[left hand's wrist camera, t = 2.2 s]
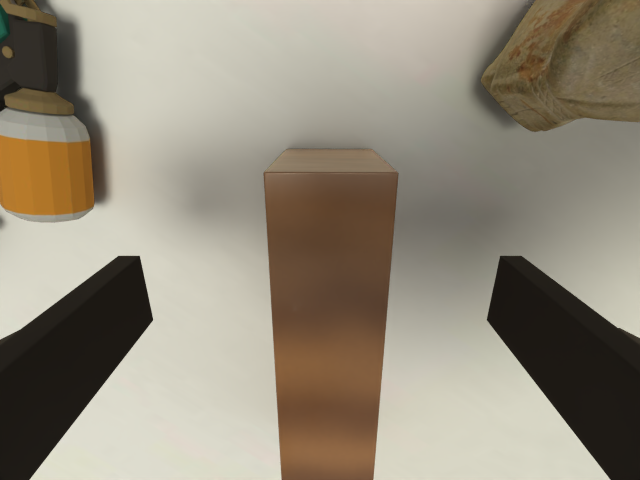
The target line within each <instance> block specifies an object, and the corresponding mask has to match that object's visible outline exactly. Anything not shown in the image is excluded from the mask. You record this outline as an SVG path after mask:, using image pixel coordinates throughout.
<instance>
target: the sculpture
mask: <svg viewBox="0 0 640 480" xmlns="http://www.w3.org/2000/svg"><path fill="white" fill-rule="evenodd" d="M481 82H482V84H483V86H484V87H485V88H486V90H487V91H488V92H489V93H490V94H491V95H492V96H493V98H494V99H495V100H496V101H497V102H498V103H499V104H500V106H501V107H502V108H503V109H504V110H505V111H506V112H507V113H508V114H509V115H510V116H511V117H512V118H513V119H514V120H516V121H517V122H518V123H519V124H521V125H522V126H523V127H525V128H526V129H528V130H530V131H534V132H536V131H541V130H542V131H547V130H550V129H553V128H556V127H560V126H562V125H565V124H567V123H569V122H571V121H573V120H575V119H580V118H585V117H586V118H593V119H602V120H614V121H628V122H640V0H536V1H535V2H534V3H533V5H532V6H531V8H530V9H529V10H528V12H527V13H526V15H525V16H524V18H523V19H522V21H521V22H520V24H519V25H518V27H517V28H516V30H515V32H514V33H513V35H512V37H511V38H510V40H509V41H508V43H507V44H506V46H505V47H504V49H503V50H502V52H501V53H500V54H499V55H498V57H497V58H496V59H495V60H494V62H493V63H492V64H490V65H489V66H488V67H487V69H486V70H485V72H484V74H483V76H482V78H481Z"/></svg>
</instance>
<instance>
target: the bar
mask: <svg viewBox="0 0 640 480" xmlns="http://www.w3.org/2000/svg"><path fill="white" fill-rule="evenodd" d="M397 184H398V172H397V171H396V170H395V169H393V168H392V167H391V166H390V165H389V164H388V163H387V162H386V161H385V160H383V159H382V158H381V157H380V156H379V155H378V154H377V153H376V152H374V151H373V150H372V149H286V150H285V151H284V152H283V153H282V154H281V155H280V156H279V157H278V158H277V159H276V160H275V161H274V162H273V163H272V164H271V166H270V167H269V168H268V169H267V170H266V171H265V172H264V187H265V204H266V222H267V239H268V256H269V273H270V290H271V307H272V324H273V341H274V358H275V375H276V392H277V409H278V426H279V443H280V460H281V477H282V480H373V477H374V465H375V453H376V440H377V428H378V416H379V404H380V392H381V379H382V367H383V355H384V343H385V331H386V318H387V306H388V294H389V282H390V269H391V257H392V245H393V233H394V221H395V208H396V196H397Z"/></svg>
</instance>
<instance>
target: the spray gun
mask: <svg viewBox="0 0 640 480" xmlns="http://www.w3.org/2000/svg"><path fill="white" fill-rule="evenodd" d="M24 3H25V4H26V6H27V7H24V6H22V5H23V4H24ZM55 27H57V21H56V17H54V16H52V15H50V14H47V13H44V12H41V11H40V9H39V8H38V6H37V5H36V3H35V2H34V0H0V204H1V206H2V207H3V208H4V209H5V210H6V211H7V212H8V213H11V214H13V215H15V216H17V217H19V218H21V219H24V220H27V221H34V222H62V221H70V220H76V219H79V218H81V217H83V216H84V215H86V214H87V213H88V212H89V211H91V210H92V209H93V207H94V189H93V175H92V161H91V147H90V137H89V134H88V132H87V129H86V126H85V125H84V124H83V123H82V122H81V121H79V120H78V119H77V118H76V117H75V116H74V115H72V114H73V113H74V105H73V104H72V103H70V102H68V101H67V100H65V99H63V98H61V97H60V96H59V95H58V94H57V93H55V92H56V89H57V84H58V82H57V29H56V28H55ZM20 87H23V88H22V89H20V90H19V91H17V92H15V91H16V90H18V89H19V88H20ZM4 104H5V105H6V106H8V108H5V109H4Z"/></svg>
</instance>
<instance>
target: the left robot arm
mask: <svg viewBox="0 0 640 480" xmlns="http://www.w3.org/2000/svg"><path fill="white" fill-rule="evenodd" d="M152 321H153V317H152V312H151V307H150V303H149V298H148V293H147V288H146V284H145V279H144V274H143V269H142V265H141V260H140V256H118V257H117V258H115V259H114V260H113V261H111V262H110V263H109V264H107V265H106V266H105V267H103V268H102V269H101V270H99V271H98V272H97V273H95V274H94V275H93V276H91V277H90V278H89V279H87V280H86V281H85V282H83V283H82V284H81V285H79V286H78V287H77V288H75V289H74V290H73V291H71V292H70V293H69V294H67V295H66V296H65V297H63V298H62V299H61V300H59V301H58V302H57V303H55V304H54V305H53V306H51V307H50V308H49V309H47V310H46V311H45V312H43V313H42V314H41V315H39V316H38V317H37V318H35V319H34V320H33V321H31V322H30V323H29V324H27V325H26V326H25V327H23V328H22V329H21V330H19V331H17V332H15V333H13V334H11V335H9V336H7V337H5V338H3V339H1V340H0V480H29V479H30V478H31V477H32V476H33V474H34V473H35V472H36V470H37V469H38V468H39V467H40V465H41V464H42V463H43V461H44V460H45V459H46V458H47V456H48V455H49V454H50V452H51V451H52V450H53V449H54V447H55V446H56V445H57V443H58V442H59V441H60V439H61V438H62V437H63V436H64V434H65V433H66V432H67V430H68V429H69V428H70V427H71V425H72V424H73V423H74V421H75V420H76V419H77V418H78V416H79V415H80V414H81V412H82V411H83V410H84V409H85V407H86V406H87V405H88V403H89V402H90V401H91V400H92V398H93V397H94V396H95V394H96V393H97V392H98V390H99V389H100V388H101V387H102V385H103V384H104V383H105V381H106V380H107V379H108V378H109V376H110V375H111V374H112V372H113V371H114V370H115V369H116V367H117V366H118V365H119V363H120V362H121V361H122V360H123V358H124V357H125V356H126V354H127V353H128V352H129V350H130V349H131V348H132V347H133V345H134V344H135V343H136V341H137V340H138V339H139V338H140V336H141V335H142V334H143V332H144V331H145V330H146V329H147V327H148V326H149V325H150V323H151V322H152ZM487 321H488V322H489V323H490V325H491V326H492V327H493V329H494V330H495V331H496V332H497V334H498V335H499V336H500V338H501V339H502V340H503V341H504V343H505V344H506V345H507V347H508V348H509V349H510V351H511V352H512V353H513V354H514V356H515V357H516V358H517V360H518V361H519V362H520V363H521V365H522V366H523V367H524V369H525V370H526V371H527V372H528V374H529V375H530V376H531V378H532V379H533V380H534V381H535V383H536V384H537V385H538V387H539V388H540V389H541V390H542V392H543V393H544V394H545V396H546V397H547V398H548V400H549V401H550V402H551V403H552V405H553V406H554V407H555V409H556V410H557V411H558V412H559V414H560V415H561V416H562V418H563V419H564V420H565V421H566V423H567V424H568V425H569V427H570V428H571V429H572V430H573V432H574V433H575V434H576V436H577V437H578V438H579V439H580V441H581V442H582V443H583V445H584V446H585V447H586V449H587V450H588V451H589V452H590V454H591V455H592V456H593V458H594V459H595V460H596V461H597V463H598V464H599V465H600V467H601V468H602V469H603V470H604V472H605V473H606V474H607V476H608V477H609V478H610V479H611V480H640V338H638V337H636V336H634V335H632V334H630V333H628V332H626V331H624V330H622V329H620V328H617V327H615V326H614V325H613V324H611V323H610V322H609V321H607V320H606V319H605V318H603V317H602V316H601V315H599V314H598V313H597V312H595V311H594V310H593V309H591V308H590V307H589V306H587V305H586V304H585V303H583V302H582V301H581V300H579V299H578V298H577V297H575V296H574V295H573V294H571V293H570V292H569V291H567V290H566V289H565V288H563V287H562V286H561V285H559V284H558V283H557V282H555V281H554V280H553V279H551V278H550V277H549V276H547V275H546V274H545V273H543V272H542V271H541V270H539V269H538V268H537V267H535V266H534V265H533V264H531V263H530V262H529V261H527V260H526V259H525V258H523V257H522V256H500V260H499V265H498V269H497V274H496V279H495V284H494V288H493V293H492V298H491V302H490V307H489V312H488V317H487Z"/></svg>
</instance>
